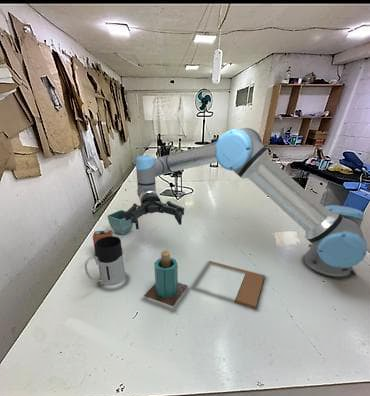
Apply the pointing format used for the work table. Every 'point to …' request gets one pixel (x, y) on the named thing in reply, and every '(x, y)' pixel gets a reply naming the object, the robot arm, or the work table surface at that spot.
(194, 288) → the work table surface
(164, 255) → the peg stand
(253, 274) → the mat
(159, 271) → the sleeve
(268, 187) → the robot arm
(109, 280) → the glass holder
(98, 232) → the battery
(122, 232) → the flower pot
